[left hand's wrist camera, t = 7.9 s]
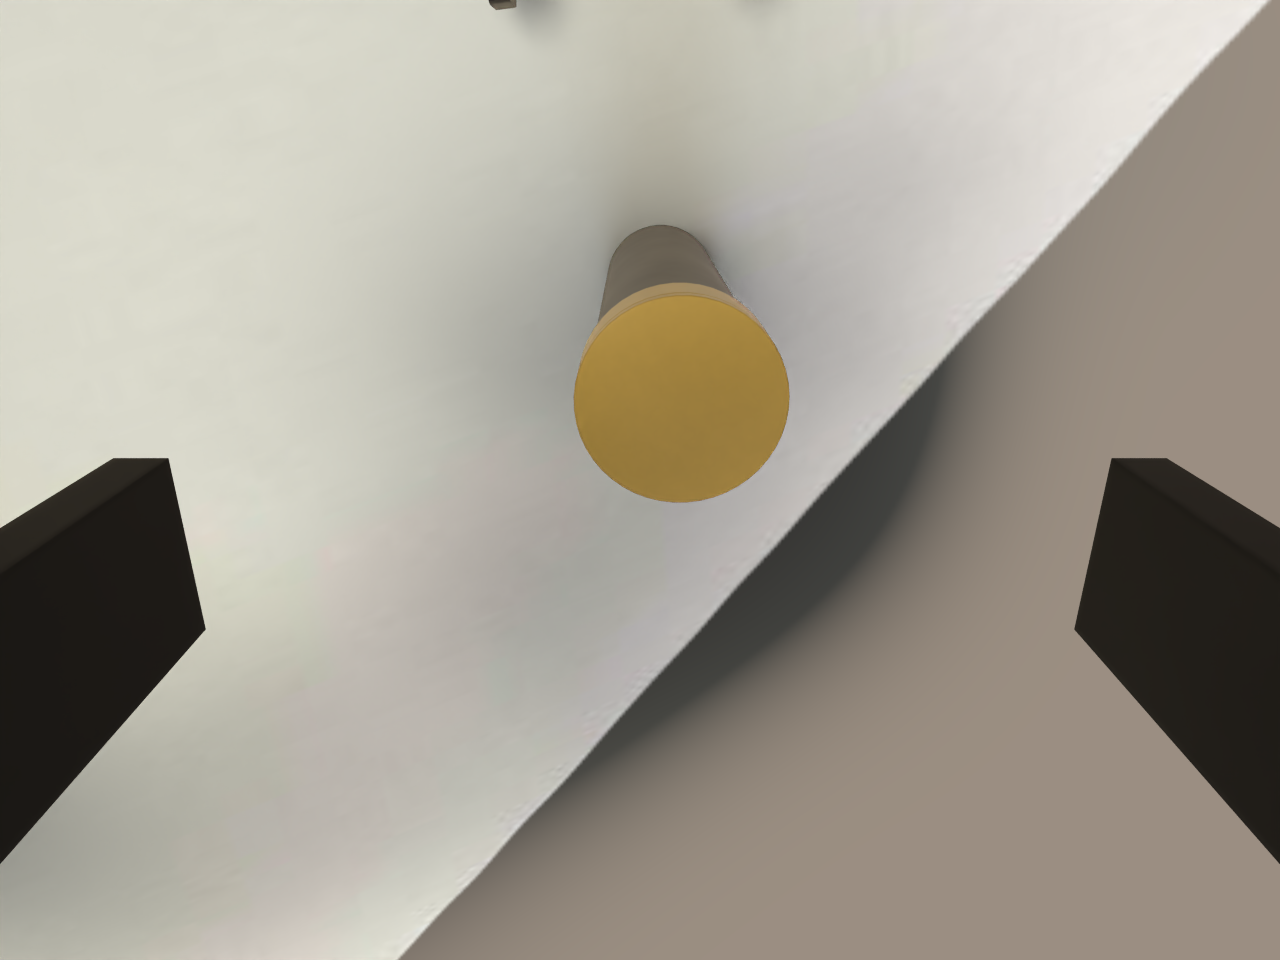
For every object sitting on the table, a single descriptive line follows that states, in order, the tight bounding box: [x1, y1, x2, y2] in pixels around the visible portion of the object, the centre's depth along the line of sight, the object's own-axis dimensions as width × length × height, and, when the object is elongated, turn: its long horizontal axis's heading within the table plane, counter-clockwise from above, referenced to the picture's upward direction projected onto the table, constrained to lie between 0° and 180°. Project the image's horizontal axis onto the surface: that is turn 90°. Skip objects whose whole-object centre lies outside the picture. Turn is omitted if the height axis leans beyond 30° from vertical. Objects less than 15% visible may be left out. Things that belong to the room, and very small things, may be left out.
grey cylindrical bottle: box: [598, 225, 734, 323], centre depth 30 cm, size 5×5×19 cm
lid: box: [574, 283, 789, 502], centre depth 22 cm, size 5×5×2 cm
